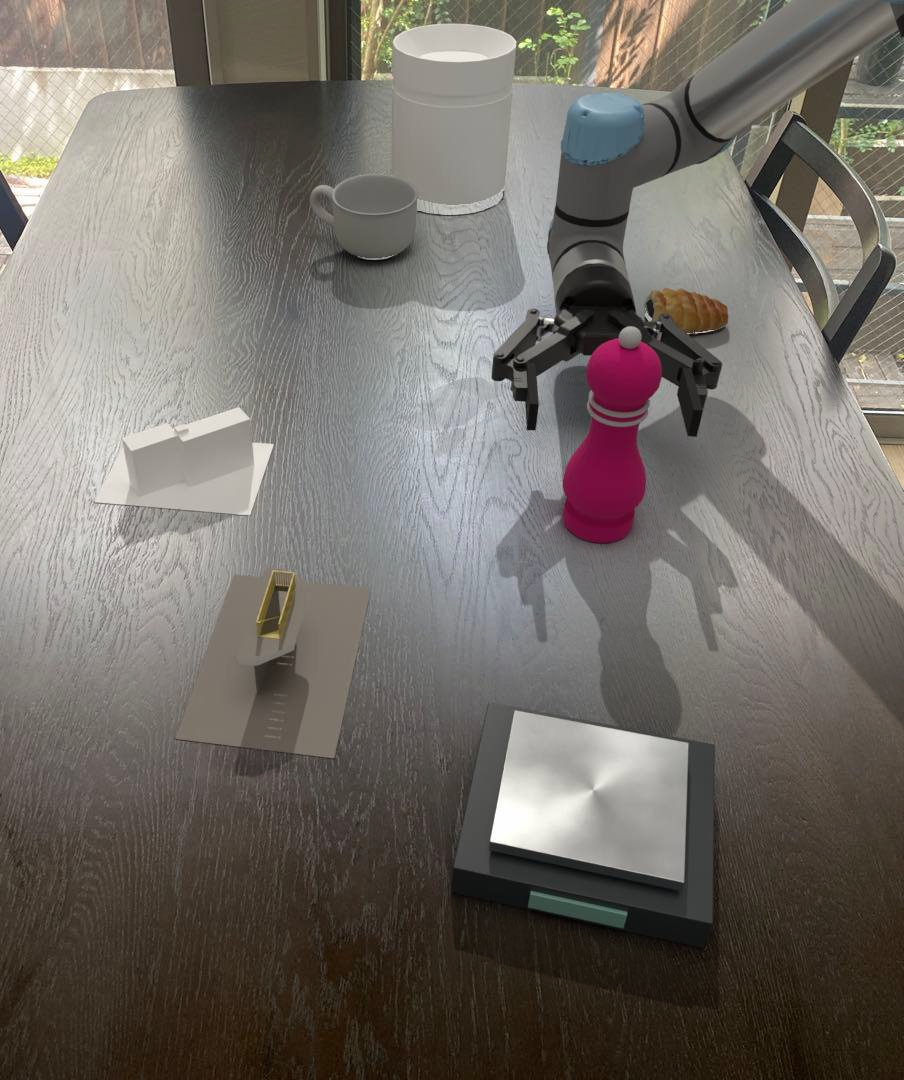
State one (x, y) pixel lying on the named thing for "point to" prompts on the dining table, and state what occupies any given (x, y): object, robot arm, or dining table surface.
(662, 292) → the pastry
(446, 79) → the canister
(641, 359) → the pepper mill
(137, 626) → the dining table surface
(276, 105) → the dining table surface
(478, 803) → the scale
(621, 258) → the robot arm
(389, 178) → the teacup
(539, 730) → the pan
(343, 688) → the platform
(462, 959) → the dining table surface
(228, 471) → the white flat upright-walled piece
